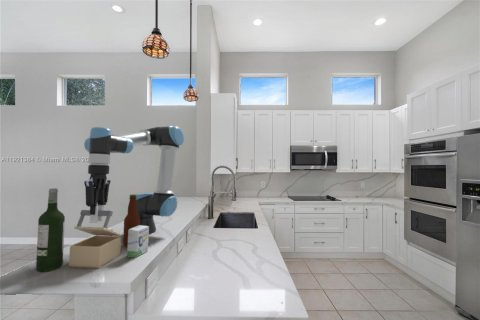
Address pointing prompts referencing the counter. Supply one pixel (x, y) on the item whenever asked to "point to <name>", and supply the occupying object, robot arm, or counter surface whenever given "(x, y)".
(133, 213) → the bottle
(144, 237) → the ink box
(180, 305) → the counter surface
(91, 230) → the flap
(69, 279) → the counter surface
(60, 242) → the wine bottle
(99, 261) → the carton
